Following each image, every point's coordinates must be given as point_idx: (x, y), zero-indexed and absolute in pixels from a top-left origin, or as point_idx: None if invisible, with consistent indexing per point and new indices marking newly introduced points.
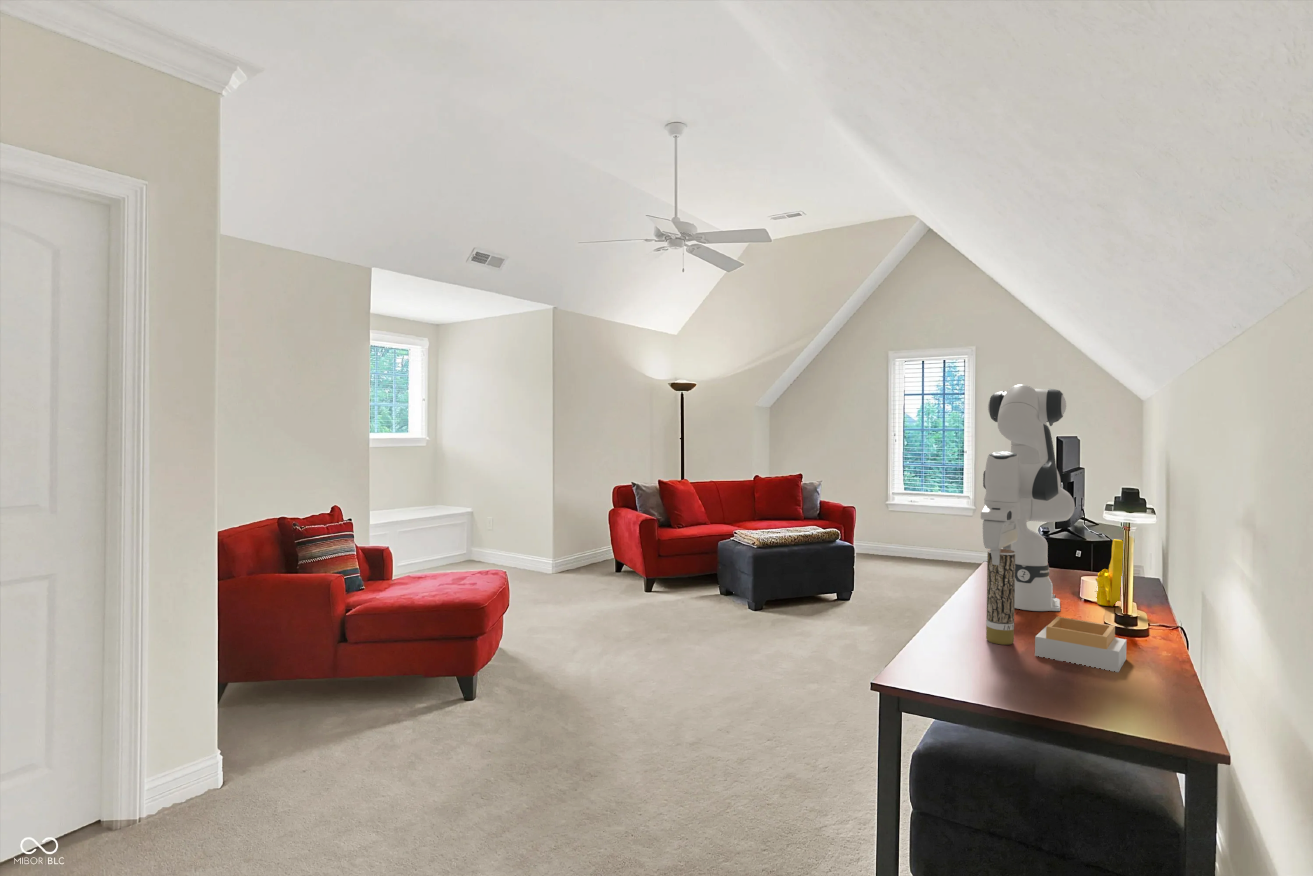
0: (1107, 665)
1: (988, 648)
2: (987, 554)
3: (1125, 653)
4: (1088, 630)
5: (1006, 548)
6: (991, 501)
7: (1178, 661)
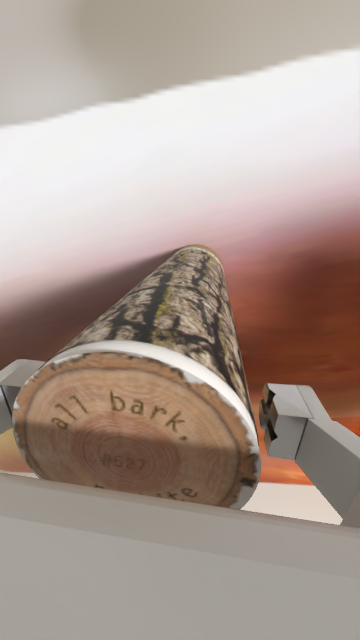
0: None
1: (133, 263)
2: (101, 328)
3: None
4: None
5: (345, 484)
6: None
7: (259, 481)
